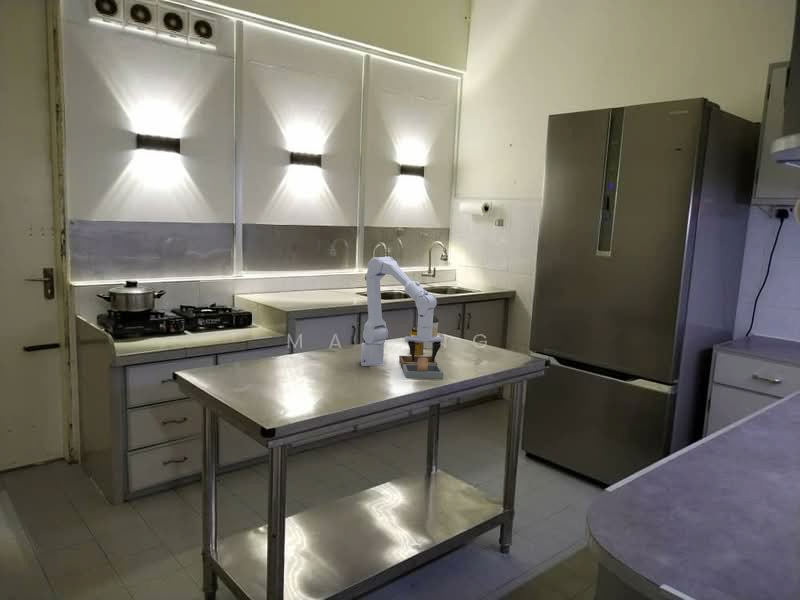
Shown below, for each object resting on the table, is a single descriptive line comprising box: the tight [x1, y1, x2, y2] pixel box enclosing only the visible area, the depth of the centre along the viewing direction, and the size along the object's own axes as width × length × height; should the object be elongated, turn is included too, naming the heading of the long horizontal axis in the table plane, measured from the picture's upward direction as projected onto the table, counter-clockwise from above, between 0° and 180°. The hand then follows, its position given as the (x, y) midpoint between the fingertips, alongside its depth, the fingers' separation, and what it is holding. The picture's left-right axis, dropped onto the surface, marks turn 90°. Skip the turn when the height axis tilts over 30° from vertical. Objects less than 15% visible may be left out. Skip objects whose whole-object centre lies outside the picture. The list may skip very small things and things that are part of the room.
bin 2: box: [402, 364, 444, 380], centre depth 222 cm, size 14×11×3 cm
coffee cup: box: [423, 315, 440, 350], centre depth 269 cm, size 9×9×15 cm
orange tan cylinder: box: [417, 358, 428, 372], centre depth 222 cm, size 4×4×6 cm
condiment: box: [409, 327, 428, 356], centre depth 254 cm, size 7×8×12 cm
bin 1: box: [398, 355, 439, 370], centre depth 235 cm, size 14×12×3 cm
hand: (422, 360), depth 221 cm, fingers open, 7 cm apart
